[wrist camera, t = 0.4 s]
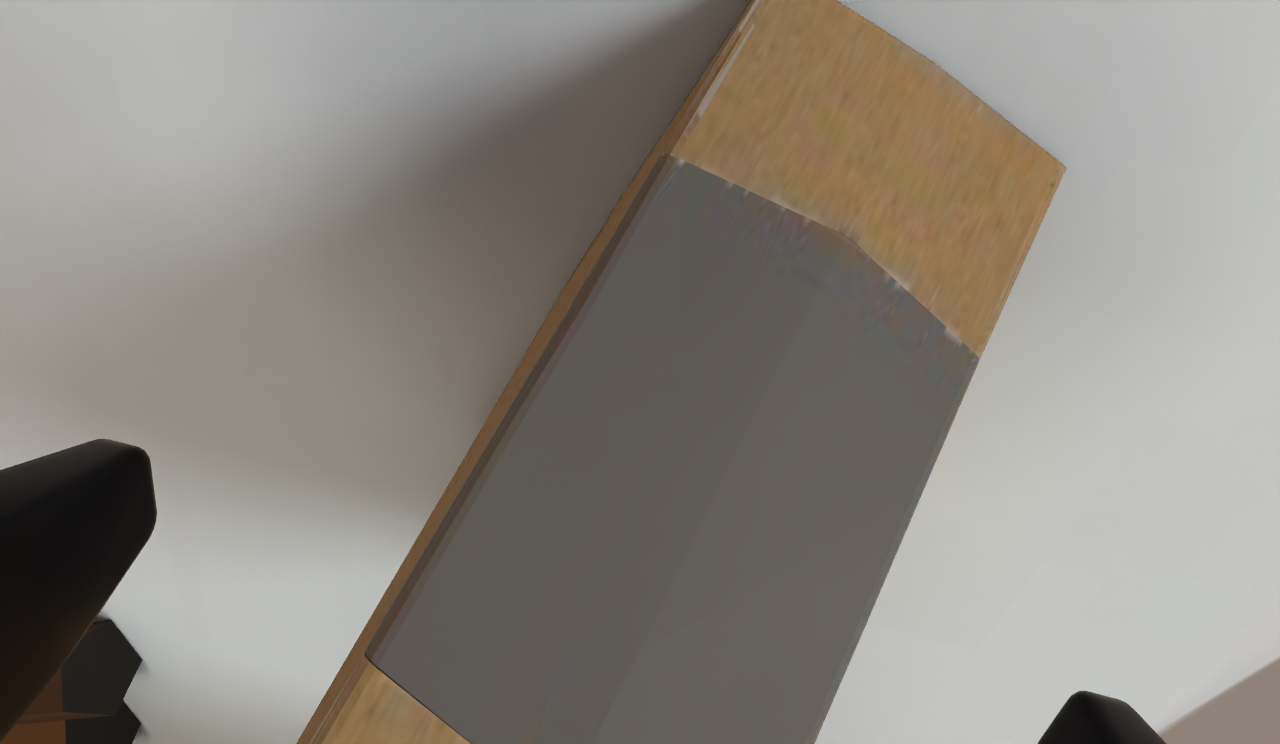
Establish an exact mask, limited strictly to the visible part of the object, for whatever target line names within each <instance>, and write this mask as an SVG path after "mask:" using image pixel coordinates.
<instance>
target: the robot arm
mask: <svg viewBox="0 0 1280 744" xmlns="http://www.w3.org/2000/svg"><path fill="white" fill-rule="evenodd" d="M156 516H157V509H156V501H155V494H154V486H153V478H152V470H151V462H150V458H149V456H148V455H147V453H146V452H145V450H143V449H141V448H140V447H137V446H133V445H129V444H125V443H121V442H117V441H113V440H109V439H97V440H93V441H90V442H87V443H83V444H80V445H77V446H74V447H71V448H68V449H65V450H62V451H59V452H55V453H52V454H49V455H46V456H43V457H40V458H37V459H34V460H31V461H27V462H24V463H21V464H18V465H15V466H12V467H9V468H6V469H3V470H0V743H1V742H2V741H3V739H4V738H5V737H6V736H7V734H8V733H9V732H10V731H11V730H12V728H13V727H14V726H15V725H16V724H17V722H18V721H19V720H20V719H21V718H22V716H23V715H24V714H25V713H26V712H27V710H28V709H29V708H30V707H31V706H32V704H33V703H34V702H35V701H36V699H37V698H38V697H39V696H40V694H41V693H42V692H43V691H44V689H45V688H46V687H47V686H48V684H49V683H50V682H51V681H52V679H53V678H54V677H55V676H56V674H57V673H58V671H59V670H60V669H61V667H62V666H63V665H64V663H65V662H66V660H67V659H68V658H69V656H70V655H71V653H72V652H73V651H74V649H75V648H76V646H77V645H78V643H79V642H80V640H81V639H82V637H83V636H84V634H85V633H86V631H87V630H88V628H89V627H90V625H91V624H92V622H93V621H94V619H95V618H96V617H97V615H98V614H99V612H100V611H101V609H102V608H103V606H104V605H105V603H106V602H107V600H108V599H109V597H110V596H111V594H112V593H113V591H114V590H115V588H116V587H117V585H118V584H119V582H120V581H121V580H122V578H123V577H124V575H125V574H126V572H127V571H128V569H129V568H130V566H131V565H132V563H133V562H134V560H135V559H136V557H137V556H138V554H139V553H140V551H141V550H142V548H143V547H144V545H145V544H146V542H147V541H148V539H149V538H150V536H151V534H152V532H153V529H154V526H155V523H156ZM1038 744H1166V743H1165V742H1164V740H1163V739H1162V738H1161V737H1160V736H1159V735H1158V734H1157V733H1156V732H1155V731H1154V730H1153V729H1152V728H1151V727H1150V726H1149V725H1148V724H1147V723H1146V722H1145V721H1144V720H1143V718H1142V717H1141V716H1140V715H1139V714H1138V713H1137V712H1136V711H1135V710H1134V709H1133V708H1132V707H1131V706H1130V705H1128V704H1127V703H1125V702H1123V701H1121V700H1119V699H1115V698H1111V697H1107V696H1103V695H1100V694H1096V693H1092V692H1088V691H1079V692H1077V693H1075V694H1073V695H1072V696H1071V697H1070V698H1069V699H1068V700H1067V702H1066V703H1065V705H1064V706H1063V708H1062V709H1061V710H1060V712H1059V713H1058V715H1057V716H1056V718H1055V719H1054V720H1053V722H1052V723H1051V725H1050V726H1049V728H1048V729H1047V730H1046V732H1045V733H1044V735H1043V736H1042V738H1041V739H1040V740H1039V742H1038Z"/></svg>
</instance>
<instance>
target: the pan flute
mask: <svg viewBox="0 0 1280 744" xmlns="http://www.w3.org/2000/svg"><path fill="white" fill-rule="evenodd" d="M141 661H142V660H141V658H140V657H139V656H138V654H137V653H136V652H135V650H134V649H133V648H132V647H131V645H130V644H129V643H128V641H127V640H126V639H125V637H124V636H123V635H122V633H121V632H120V631H119V630H118V628H117V627H116V626H115V624H114V623H113V622H112V620H108V621H101V622H93V623H92V624H91V625H90V627H89V628H88V630H87V631H86V633H85V634H84V636H83V637H82V639H81V640H80V642H79V643H78V645H77V646H76V648H75V649H74V651H73V652H72V653H71V655H70V656H69V658H68V659H67V660H66V662H65V663H64V665H63V666H62V667H61V669H60V670H59V671H58V673H57V674H56V676H55V677H54V678H53V679H52V681H51V682H50V683H49V684H48V686H47V687H46V688H45V689H44V691H43V692H42V693H41V694H40V696H39V697H38V698H37V699H36V701H35V702H34V703H33V704H32V706H31V707H30V708H29V709H28V710H27V712H26V713H25V714H24V715H23V716H22V718H21V719H20V720H19V721H18V722H17V724H16V725H15V726H14V727H13V728H12V730H11V731H10V732H9V733H8V734H7V736H6V737H5V738H4V739H3V741H2V742H1V743H0V744H132V742H133V740H134V738H135V736H136V734H137V731H138V729H139V727H140V725H141V724H140V723H139V721H138V720H137V719H136V718H135V716H134V715H133V714H132V713H131V711H130V710H129V709H128V708H127V706H126V705H125V704H124V703H123V701H122V700H123V698H124V696H125V694H126V692H127V690H128V688H129V686H130V684H131V682H132V679H133V677H134V675H135V673H136V671H137V669H138V667H139V665H140V663H141Z"/></svg>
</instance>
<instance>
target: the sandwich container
mask: <svg viewBox="0 0 1280 744" xmlns="http://www.w3.org/2000/svg"><path fill="white" fill-rule="evenodd" d="M1065 170H1066V167H1065V166H1064V165H1063V164H1061V163H1060V162H1059V161H1058V160H1056V159H1055V158H1054V157H1053V156H1051V155H1050V154H1049V153H1048V152H1046V151H1045V150H1044V149H1042V148H1041V147H1040V146H1039V145H1037V144H1036V143H1035V142H1034V141H1032V140H1031V139H1030V138H1029V137H1027V136H1026V135H1025V134H1024V133H1022V132H1021V131H1020V130H1018V129H1017V128H1016V127H1015V126H1013V125H1012V124H1011V123H1010V122H1008V121H1007V120H1006V119H1005V118H1003V117H1002V116H1001V115H1000V114H998V113H997V112H996V111H994V110H993V109H992V108H991V107H989V106H988V105H987V104H986V103H984V102H983V101H982V100H981V99H979V98H978V97H977V96H976V95H974V94H973V93H972V92H970V91H969V90H968V89H967V88H965V87H964V86H963V85H962V84H960V83H959V82H958V81H957V80H955V79H954V78H953V77H952V76H950V75H949V74H948V73H946V72H945V71H944V70H943V69H941V68H940V67H939V66H938V65H936V64H935V63H934V62H932V61H931V60H929V59H928V58H926V57H925V56H923V55H922V54H920V53H919V52H917V51H915V50H914V49H912V48H911V47H909V46H907V45H906V44H904V43H903V42H901V41H900V40H898V39H896V38H895V37H893V36H892V35H890V34H888V33H887V32H885V31H884V30H882V29H881V28H879V27H877V26H876V25H874V24H873V23H871V22H870V21H868V20H866V19H865V18H863V17H862V16H860V15H858V14H857V13H855V12H854V11H852V10H851V9H849V8H847V7H846V6H844V5H843V4H841V3H840V2H838V1H836V0H751V1H750V3H749V5H748V6H747V8H746V9H745V11H744V12H743V14H742V15H741V17H740V18H739V20H738V21H737V23H736V24H735V26H734V27H733V29H732V30H731V32H730V33H729V35H728V36H727V38H726V39H725V41H724V42H723V44H722V45H721V47H720V48H719V50H718V51H717V53H716V55H715V56H714V58H713V59H712V61H711V62H710V64H709V65H708V67H707V68H706V70H705V71H704V73H703V74H702V76H701V77H700V79H699V80H698V82H697V83H696V85H695V86H694V88H693V89H692V91H691V92H690V94H689V95H688V97H687V98H686V100H685V101H684V103H683V105H682V106H681V108H680V109H679V111H678V112H677V114H676V115H675V117H674V118H673V120H672V121H671V123H670V124H669V126H668V127H667V129H666V130H665V132H664V133H663V135H662V136H661V138H660V139H659V141H658V142H657V144H656V145H655V147H654V148H653V150H652V151H651V153H650V155H649V156H648V158H647V159H646V161H645V162H644V164H643V165H642V167H641V168H640V170H639V171H638V173H637V174H636V176H635V177H634V179H633V180H632V182H631V183H630V185H629V186H628V188H627V189H626V191H625V192H624V194H623V195H622V197H621V198H620V200H619V201H618V203H617V205H616V206H615V208H614V209H613V211H612V212H611V214H610V216H609V218H608V220H607V222H606V224H605V226H604V228H603V229H602V230H601V232H600V233H599V234H598V236H597V237H596V238H595V240H594V241H593V243H592V244H591V246H590V247H589V249H588V251H587V252H586V254H585V255H584V257H583V259H582V260H581V262H580V264H579V265H578V267H577V268H576V270H575V272H574V273H573V275H572V276H571V278H570V280H569V281H568V283H567V285H566V286H565V288H564V289H563V291H562V292H561V294H560V296H559V297H558V299H557V301H556V302H555V304H554V306H553V308H552V309H551V311H550V312H549V314H548V316H547V318H546V319H545V321H544V323H543V325H542V326H541V328H540V330H539V332H538V333H537V335H536V337H535V338H534V340H533V342H532V344H531V345H530V347H529V349H528V350H527V352H526V354H525V356H524V357H523V359H522V361H521V362H520V364H519V366H518V368H517V369H516V371H515V373H514V374H513V376H512V378H511V380H510V381H509V383H508V385H507V386H506V388H505V390H504V392H503V393H502V395H501V397H500V398H499V400H498V402H497V403H496V405H495V407H494V409H493V410H492V412H491V414H490V415H489V417H488V419H487V420H486V422H485V424H484V426H483V427H482V429H481V431H480V432H479V434H478V436H477V437H476V439H475V441H474V443H473V444H472V446H471V448H470V449H469V451H468V453H467V454H466V456H465V458H464V460H463V461H462V463H461V465H460V466H459V468H458V470H457V471H456V473H455V475H454V477H453V478H452V480H451V482H450V483H449V485H448V487H447V488H446V490H445V492H444V494H443V495H442V497H441V499H440V500H439V502H438V504H437V505H436V507H435V509H434V511H433V512H432V514H431V516H430V517H429V519H428V521H427V522H426V524H425V526H424V528H423V529H422V531H421V533H420V534H419V536H418V538H417V539H416V541H415V543H414V545H413V546H412V548H411V550H410V551H409V553H408V555H407V556H406V558H405V560H404V562H403V563H402V565H401V567H400V568H399V570H398V572H397V573H396V575H395V577H394V579H393V580H392V582H391V584H390V585H389V587H388V589H387V590H386V592H385V594H384V596H383V597H382V599H381V601H380V602H379V604H378V606H377V607H376V609H375V611H374V613H373V614H372V616H371V618H370V619H369V621H368V623H367V624H366V626H365V628H364V630H363V631H362V633H361V635H360V636H359V638H358V640H357V641H356V643H355V645H354V647H353V648H352V650H351V652H350V653H349V655H348V657H347V658H346V660H345V662H344V664H343V665H342V667H341V669H340V670H339V672H338V674H337V675H336V677H335V679H334V681H333V682H332V684H331V686H330V687H329V689H328V691H327V692H326V694H325V696H324V698H323V699H322V701H321V703H320V704H319V706H318V708H317V709H316V711H315V713H314V715H313V716H312V718H311V720H310V721H309V723H308V725H307V726H306V728H305V730H304V732H303V733H302V735H301V737H300V738H299V740H298V742H297V743H296V744H814V743H815V741H816V738H817V736H818V734H819V731H820V729H821V727H822V724H823V722H824V720H825V718H826V715H827V713H828V711H829V708H830V706H831V704H832V701H833V699H834V697H835V694H836V692H837V690H838V688H839V685H840V683H841V681H842V678H843V676H844V674H845V671H846V669H847V667H848V665H849V662H850V660H851V658H852V655H853V653H854V651H855V648H856V646H857V644H858V642H859V639H860V637H861V635H862V632H863V630H864V628H865V625H866V623H867V621H868V618H869V616H870V614H871V611H872V609H873V607H874V604H875V602H876V600H877V597H878V595H879V593H880V590H881V588H882V586H883V583H884V581H885V579H886V576H887V574H888V572H889V569H890V567H891V565H892V562H893V560H894V558H895V555H896V553H897V551H898V548H899V546H900V544H901V541H902V539H903V537H904V534H905V532H906V530H907V527H908V525H909V522H910V520H911V518H912V515H913V513H914V511H915V509H916V506H917V504H918V502H919V499H920V497H921V495H922V492H923V490H924V488H925V485H926V483H927V481H928V478H929V476H930V474H931V471H932V469H933V467H934V464H935V462H936V460H937V457H938V455H939V453H940V450H941V448H942V446H943V443H944V441H945V439H946V436H947V434H948V432H949V429H950V427H951V425H952V422H953V420H954V418H955V415H956V413H957V411H958V408H959V406H960V404H961V401H962V399H963V397H964V394H965V392H966V390H967V387H968V385H969V383H970V381H971V378H972V376H973V374H974V371H975V369H976V367H977V364H978V362H979V360H980V358H981V355H982V353H983V351H984V349H985V346H986V344H987V342H988V340H989V338H990V335H991V333H992V331H993V329H994V326H995V324H996V322H997V320H998V318H999V315H1000V313H1001V311H1002V309H1003V306H1004V304H1005V302H1006V300H1007V298H1008V295H1009V293H1010V291H1011V289H1012V286H1013V284H1014V282H1015V280H1016V278H1017V275H1018V273H1019V271H1020V269H1021V266H1022V264H1023V262H1024V260H1025V258H1026V255H1027V253H1028V251H1029V249H1030V246H1031V244H1032V242H1033V240H1034V238H1035V235H1036V233H1037V231H1038V229H1039V226H1040V224H1041V222H1042V220H1043V218H1044V215H1045V213H1046V211H1047V209H1048V207H1049V204H1050V202H1051V200H1052V198H1053V196H1054V194H1055V191H1056V189H1057V187H1058V185H1059V183H1060V181H1061V179H1062V176H1063V174H1064V172H1065Z"/></svg>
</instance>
